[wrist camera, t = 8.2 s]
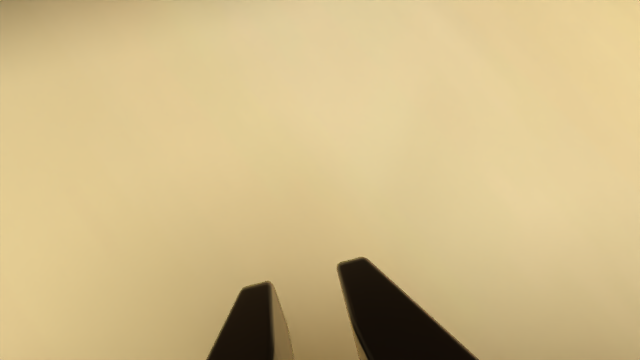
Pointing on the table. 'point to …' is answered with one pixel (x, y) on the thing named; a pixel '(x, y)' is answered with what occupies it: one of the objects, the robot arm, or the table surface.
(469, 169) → the table surface
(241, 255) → the table surface
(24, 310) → the table surface
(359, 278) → the robot arm
